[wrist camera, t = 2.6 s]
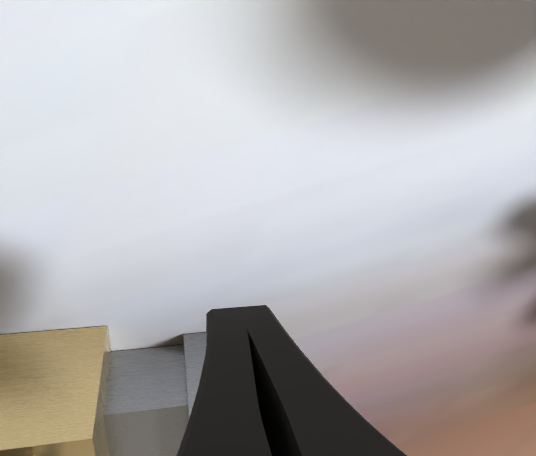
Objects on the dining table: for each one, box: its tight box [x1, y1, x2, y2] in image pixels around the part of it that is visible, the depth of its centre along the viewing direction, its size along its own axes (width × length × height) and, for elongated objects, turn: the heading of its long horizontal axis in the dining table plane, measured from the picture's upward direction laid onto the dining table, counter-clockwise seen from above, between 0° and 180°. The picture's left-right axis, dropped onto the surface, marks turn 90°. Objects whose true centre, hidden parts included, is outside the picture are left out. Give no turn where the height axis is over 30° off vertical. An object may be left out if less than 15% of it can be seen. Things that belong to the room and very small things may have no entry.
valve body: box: [0, 326, 206, 456], centre depth 17 cm, size 6×14×6 cm, turn 86°
